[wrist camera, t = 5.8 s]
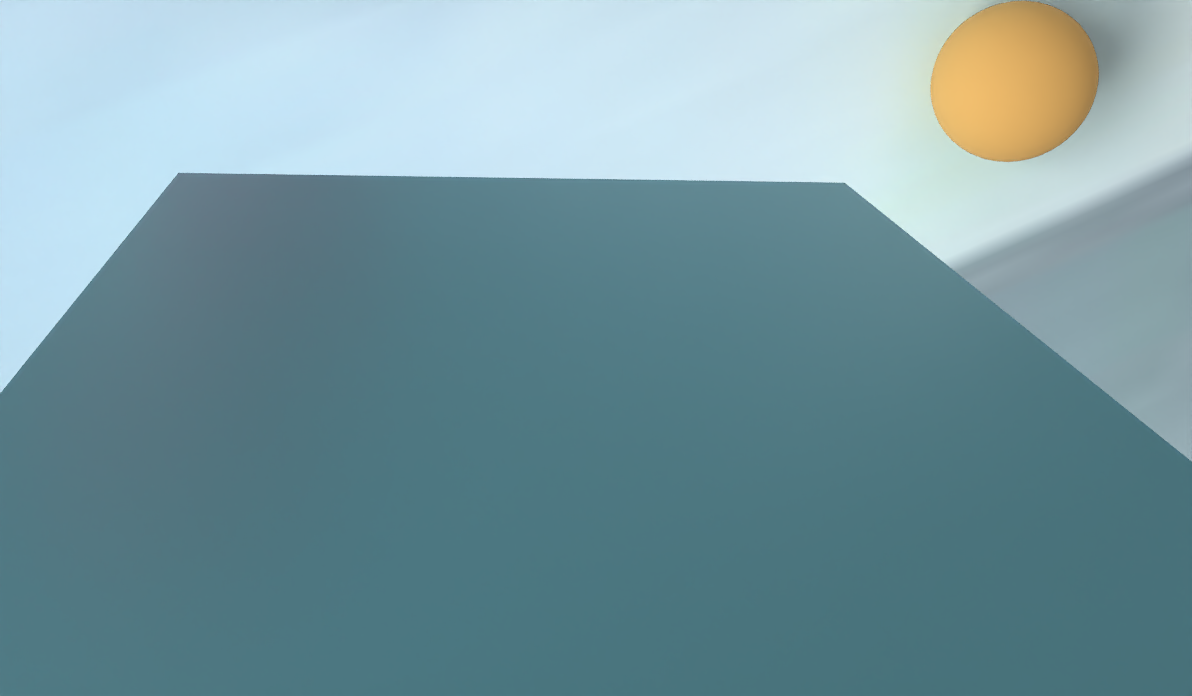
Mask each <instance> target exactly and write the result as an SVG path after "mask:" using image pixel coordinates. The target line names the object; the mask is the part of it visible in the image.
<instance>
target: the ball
mask: <svg viewBox="0 0 1192 696" xmlns="http://www.w3.org/2000/svg"><path fill="white" fill-rule="evenodd" d="M1098 78H1099V69H1098V61H1097V56H1096V52H1095V50H1094V47H1093V44H1092V42H1091V40H1090V38H1089V36H1088V35H1087V34H1086V32H1085V31H1084V29H1083V28H1082V27H1081V26H1080V24H1079V23H1077V22H1076V21H1075V20H1074V19H1073V18H1072V17H1070V16H1069V15H1068V14H1066V13H1065V12H1063V11H1062V10H1059V9H1057V8H1055V7H1053V6H1050V5H1047V4H1043V3H1039V2H1031V1H1012V2H1006V3H1001V4H997V5H994V6H991V7H989V8H986V9H984V10H982V11H980V12H978V13H976V14H975V15H973V16H971V17H970V18H968V19H967V20H966V21H965V22H963V23H962V24H961V25H960V26H959V27H958V28H957V29H956V30H955V31H954V32H953V33H952V34H951V36H950V37H949V38H948V39H947V41H946V42H945V44H944V45H943V47H942V48H941V50H940V52H939V54H938V57H937V59H936V62H935V65H934V68H933V73H932V78H931V100H932V105H933V109H934V112H935V115H936V117H937V120H938V122H939V124H940V125H941V127H942V129H943V130H944V131H945V133H946V134H947V135H948V136H949V137H950V139H951V140H952V141H953V142H955V143H956V144H957V145H958V146H960V147H961V148H962V149H964V150H965V151H967V152H969V153H971V154H973V155H976V156H978V157H981V158H984V159H988V160H993V161H1003V162H1011V161H1021V160H1026V159H1031V158H1034V157H1037V156H1040V155H1042V154H1044V153H1046V152H1048V151H1051V150H1052V149H1054V148H1056V147H1057V146H1059V145H1060V144H1062V143H1063V142H1064V141H1065V140H1067V139H1068V138H1069V137H1070V136H1071V135H1072V134H1073V133H1074V132H1075V131H1076V130H1077V129H1078V127H1079V126H1080V125H1081V124H1082V122H1083V121H1084V119H1085V118H1086V116H1087V114H1088V113H1089V111H1090V109H1091V107H1092V104H1093V102H1094V99H1095V95H1096V92H1097V86H1098Z"/></svg>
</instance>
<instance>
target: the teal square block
mask: <svg viewBox="0 0 1192 696" xmlns="http://www.w3.org/2000/svg"><path fill="white" fill-rule="evenodd" d="M0 696H1192V462H1191V461H1190V460H1189V459H1188V458H1186V457H1185V456H1184V455H1183V454H1181V453H1180V452H1179V451H1178V450H1176V449H1175V448H1174V447H1173V446H1171V445H1170V444H1169V443H1168V442H1166V441H1165V440H1164V439H1163V438H1161V437H1160V436H1159V435H1158V434H1156V433H1155V432H1154V431H1153V430H1151V429H1150V428H1149V427H1148V426H1147V425H1145V424H1144V423H1143V422H1142V421H1140V420H1139V419H1138V418H1137V417H1135V416H1134V415H1133V414H1132V413H1130V412H1129V411H1128V410H1127V409H1125V408H1124V407H1123V406H1122V405H1120V404H1119V403H1118V402H1117V401H1115V400H1114V399H1113V398H1112V397H1110V396H1109V395H1108V394H1107V393H1105V392H1104V391H1103V390H1102V389H1100V388H1099V387H1098V386H1097V385H1095V384H1094V383H1093V382H1092V381H1091V380H1089V379H1088V378H1087V377H1086V376H1084V375H1083V374H1082V373H1081V372H1079V371H1078V370H1077V369H1076V368H1074V367H1073V366H1072V365H1071V364H1069V363H1068V362H1067V361H1066V360H1064V359H1063V358H1062V357H1061V356H1059V355H1058V354H1057V353H1056V352H1054V351H1053V350H1052V349H1051V348H1049V347H1048V346H1047V345H1046V344H1044V343H1043V342H1042V341H1041V340H1039V339H1038V338H1037V337H1036V336H1035V335H1033V334H1032V333H1031V332H1030V331H1028V330H1027V329H1026V328H1025V327H1023V326H1022V325H1021V324H1020V323H1018V322H1017V321H1016V320H1015V319H1013V318H1012V317H1011V316H1010V315H1008V314H1007V313H1006V312H1005V311H1003V310H1002V309H1001V308H1000V307H998V306H997V305H996V304H995V303H993V302H992V301H991V300H990V299H988V298H987V297H986V296H985V295H983V294H982V293H981V292H980V291H979V290H977V289H976V288H975V287H974V286H972V285H971V284H970V283H969V282H967V281H966V280H965V279H964V278H962V277H961V276H960V275H959V274H957V273H956V272H955V271H954V270H952V269H951V268H950V267H949V266H947V265H946V264H945V263H944V262H942V261H941V260H940V259H939V258H937V257H936V256H935V255H934V254H932V253H931V252H930V251H929V250H927V249H926V248H925V247H924V246H923V245H921V244H920V243H919V242H918V241H916V240H915V239H914V238H913V237H911V236H910V235H909V234H908V233H906V232H905V231H904V230H903V229H901V228H900V227H899V226H898V225H896V224H895V223H894V222H893V221H891V220H890V219H889V218H888V217H886V216H885V215H884V214H883V213H881V212H880V211H879V210H878V209H876V208H875V207H874V206H873V205H871V204H870V203H869V202H868V201H867V200H865V199H864V198H863V197H862V196H860V195H859V194H858V193H857V192H855V191H854V190H853V189H852V188H850V187H849V186H848V185H847V184H845V183H821V182H753V181H685V180H617V179H549V178H481V177H413V176H344V175H276V174H208V173H178V174H177V176H176V177H175V178H174V179H173V180H172V182H171V183H170V184H169V185H168V187H167V188H166V189H165V190H164V192H163V193H162V194H161V195H160V197H159V198H158V199H157V200H156V202H155V203H154V204H153V205H152V206H151V208H150V209H149V210H148V211H147V213H146V214H145V215H144V216H143V218H142V219H141V220H140V221H139V223H138V224H137V225H136V226H135V228H134V229H133V230H132V231H131V232H130V234H129V235H128V236H127V237H126V239H125V240H124V241H123V242H122V244H121V245H120V246H119V247H118V249H117V250H116V251H115V252H114V254H113V255H112V256H111V257H110V258H109V260H108V261H107V262H106V263H105V265H104V266H103V267H102V268H101V270H100V271H99V272H98V273H97V275H96V276H95V277H94V278H93V279H92V281H91V282H90V283H89V284H88V286H87V287H86V288H85V289H84V291H83V292H82V293H81V294H80V296H79V297H78V298H77V299H76V301H75V302H74V303H73V304H72V305H71V307H70V308H69V309H68V310H67V312H66V313H65V314H64V315H63V317H62V318H61V319H60V320H59V322H58V323H57V324H56V325H55V327H54V328H53V329H52V330H51V331H50V333H49V334H48V335H47V336H46V338H45V339H44V340H43V341H42V343H41V344H40V345H39V346H38V348H37V349H36V350H35V351H34V353H33V354H32V355H31V356H30V357H29V359H28V360H27V361H26V362H25V364H24V365H23V366H22V367H21V369H20V370H19V371H18V372H17V374H16V375H15V376H14V377H13V379H12V380H11V381H10V382H9V383H8V385H7V386H6V387H5V388H4V390H3V391H2V392H1V393H0Z"/></svg>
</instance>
